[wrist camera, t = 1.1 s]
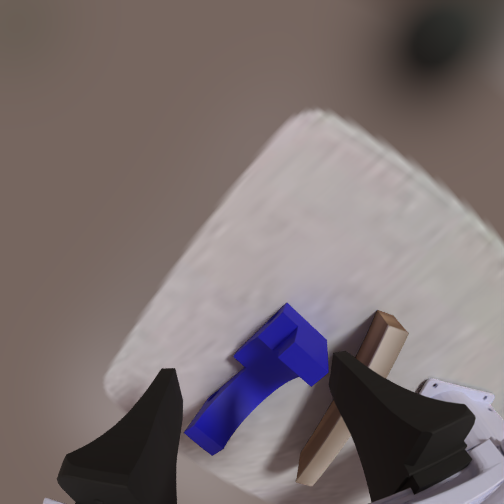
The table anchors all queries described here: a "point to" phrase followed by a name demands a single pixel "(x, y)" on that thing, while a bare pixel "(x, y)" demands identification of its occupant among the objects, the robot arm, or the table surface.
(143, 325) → the table surface
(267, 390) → the cable clip
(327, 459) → the bar
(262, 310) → the table surface
